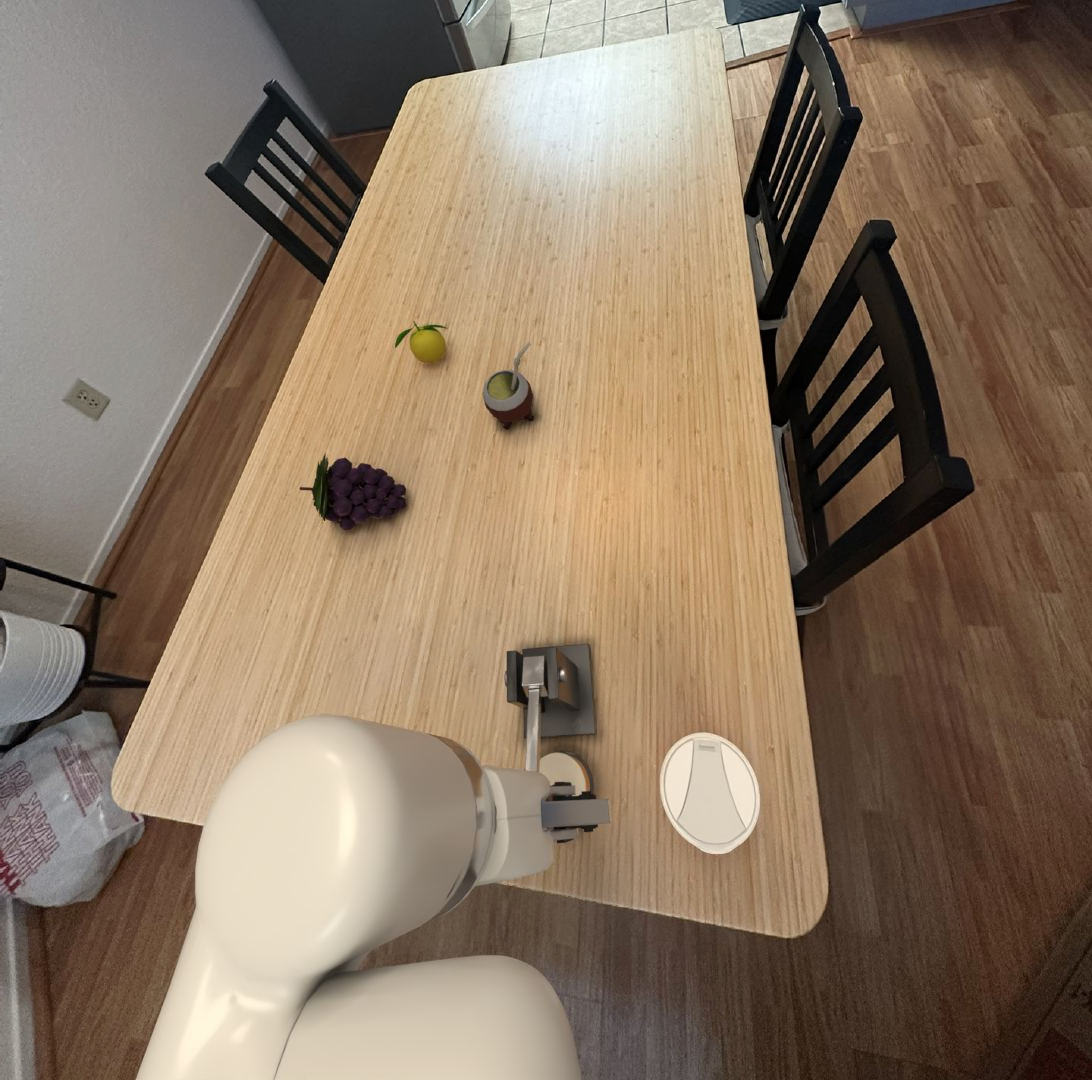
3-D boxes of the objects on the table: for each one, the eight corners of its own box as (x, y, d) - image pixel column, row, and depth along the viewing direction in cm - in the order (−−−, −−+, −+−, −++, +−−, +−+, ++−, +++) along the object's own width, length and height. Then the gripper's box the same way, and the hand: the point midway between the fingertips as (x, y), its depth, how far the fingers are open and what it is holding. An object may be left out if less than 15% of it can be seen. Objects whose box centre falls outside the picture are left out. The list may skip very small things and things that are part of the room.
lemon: (411, 371, 101) (386, 336, 93) (422, 342, 104) (399, 305, 96) (448, 375, 99) (426, 339, 91) (459, 345, 102) (438, 308, 94)
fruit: (408, 534, 88) (302, 534, 87) (414, 462, 93) (313, 461, 92) (397, 523, 79) (278, 522, 78) (404, 443, 83) (292, 442, 82)
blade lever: (562, 809, 52) (557, 798, 50) (505, 812, 52) (498, 801, 51) (563, 666, 62) (558, 654, 60) (514, 670, 62) (509, 658, 61)
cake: (596, 822, 63) (590, 825, 60) (535, 825, 64) (526, 828, 61) (590, 748, 67) (585, 747, 64) (533, 752, 68) (525, 751, 64)
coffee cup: (664, 735, 66) (658, 727, 54) (744, 742, 65) (755, 736, 52) (666, 833, 62) (660, 849, 49) (752, 844, 60) (767, 862, 48)
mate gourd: (485, 422, 92) (453, 370, 80) (511, 381, 96) (485, 325, 84) (526, 441, 89) (500, 389, 77) (552, 398, 93) (531, 341, 80)
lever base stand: (597, 734, 68) (576, 726, 56) (526, 738, 69) (490, 732, 57) (590, 645, 73) (569, 620, 61) (524, 650, 74) (491, 627, 62)
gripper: (234, 929, 29) (381, 885, 43) (594, 923, 27) (628, 878, 41) (270, 743, 34) (393, 757, 47) (582, 723, 31) (616, 744, 45)
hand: (502, 813), depth 44 cm, fingers open, 9 cm apart
